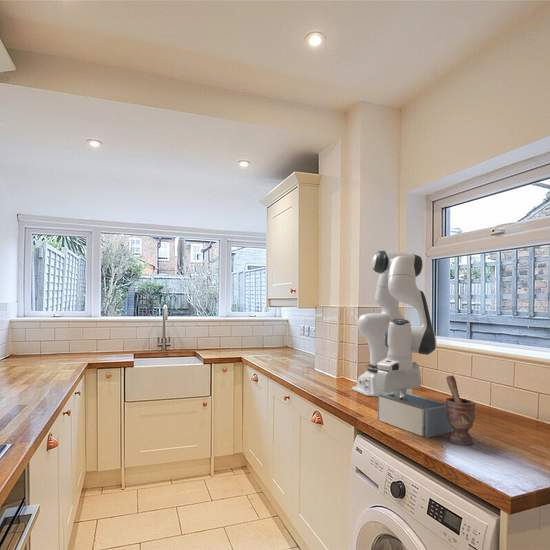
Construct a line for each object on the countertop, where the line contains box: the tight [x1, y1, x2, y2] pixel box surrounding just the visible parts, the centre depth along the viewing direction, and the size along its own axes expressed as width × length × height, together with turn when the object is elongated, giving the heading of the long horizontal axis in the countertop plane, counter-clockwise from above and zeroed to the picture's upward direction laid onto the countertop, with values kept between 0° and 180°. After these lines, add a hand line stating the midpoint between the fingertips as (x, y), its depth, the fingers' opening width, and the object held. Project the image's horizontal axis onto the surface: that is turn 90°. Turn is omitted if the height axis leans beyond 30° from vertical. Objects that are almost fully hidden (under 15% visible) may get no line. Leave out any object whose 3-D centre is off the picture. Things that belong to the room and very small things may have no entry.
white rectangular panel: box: [379, 394, 425, 437], centre depth 140 cm, size 19×1×10 cm, turn 31°
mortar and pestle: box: [445, 375, 476, 447], centre depth 130 cm, size 12×9×20 cm
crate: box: [377, 393, 453, 439], centre depth 144 cm, size 22×13×9 cm, turn 31°
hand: (399, 401), depth 145 cm, fingers closed
